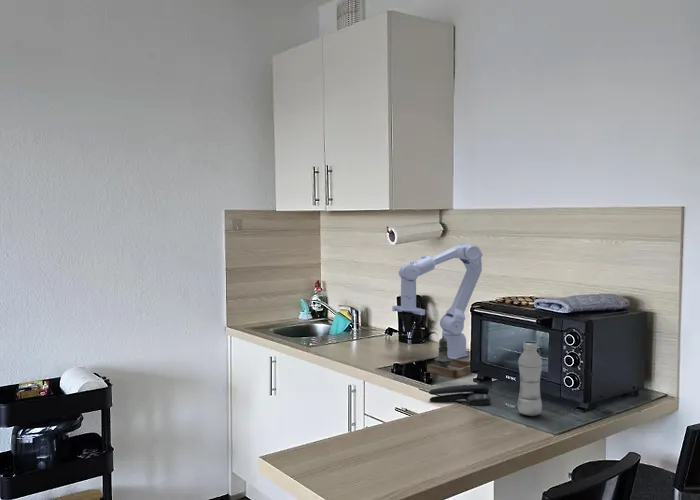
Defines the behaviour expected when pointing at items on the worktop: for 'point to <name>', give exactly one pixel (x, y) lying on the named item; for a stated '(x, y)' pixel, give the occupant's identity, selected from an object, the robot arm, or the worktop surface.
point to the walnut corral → (463, 369)
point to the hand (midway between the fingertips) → (408, 332)
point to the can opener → (463, 394)
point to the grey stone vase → (443, 354)
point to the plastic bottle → (530, 380)
